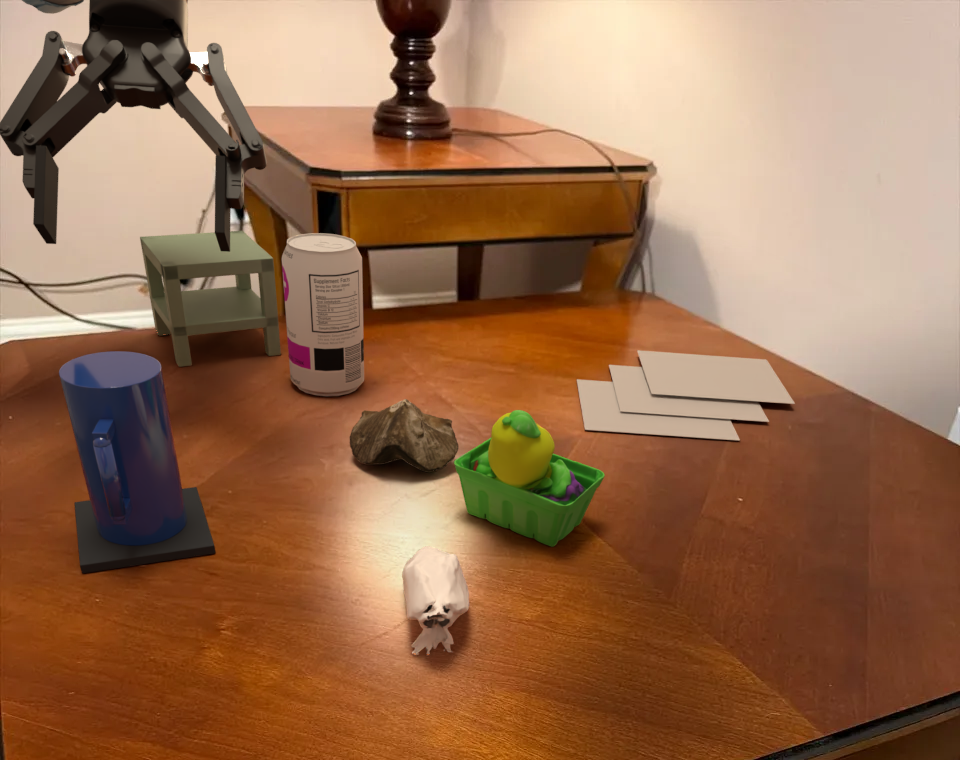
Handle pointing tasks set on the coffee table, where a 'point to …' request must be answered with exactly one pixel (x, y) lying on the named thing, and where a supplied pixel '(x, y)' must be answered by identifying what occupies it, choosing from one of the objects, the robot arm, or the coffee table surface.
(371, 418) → the fossilized seashell
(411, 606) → the white crumpled pouch
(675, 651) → the coffee table surface
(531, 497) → the fruit basket
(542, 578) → the coffee table surface
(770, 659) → the coffee table surface
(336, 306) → the supplement can
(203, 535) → the mat
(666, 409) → the paper stack
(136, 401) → the jug
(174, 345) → the side table
